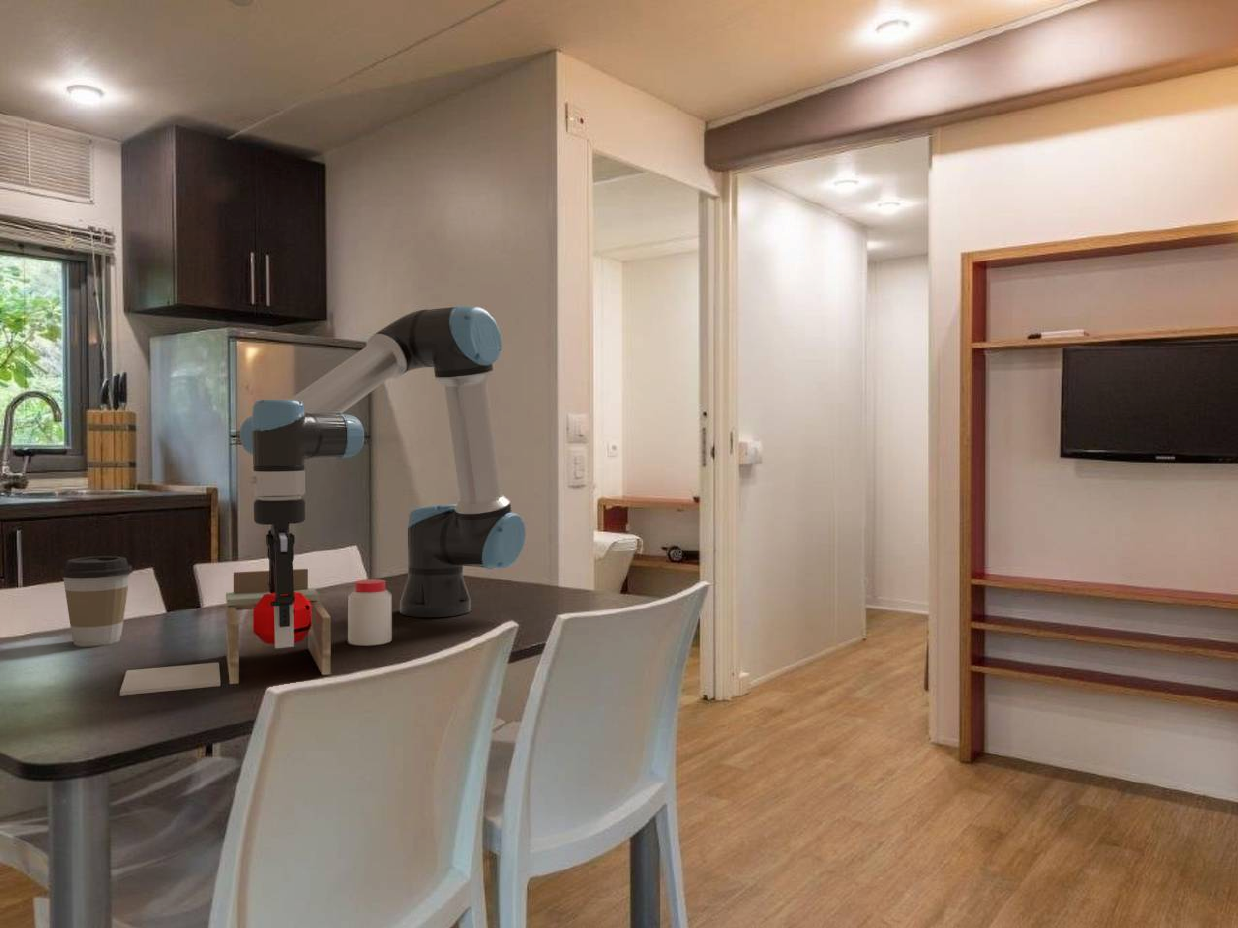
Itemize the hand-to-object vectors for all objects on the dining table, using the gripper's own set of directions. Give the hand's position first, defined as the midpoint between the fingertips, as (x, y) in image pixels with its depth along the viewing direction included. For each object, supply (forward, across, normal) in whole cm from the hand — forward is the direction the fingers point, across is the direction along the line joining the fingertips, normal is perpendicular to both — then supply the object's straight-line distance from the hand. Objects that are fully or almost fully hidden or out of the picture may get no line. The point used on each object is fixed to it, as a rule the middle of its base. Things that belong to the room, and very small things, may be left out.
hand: (281, 640), depth 139 cm
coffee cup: (+5, -35, -28) cm, 46 cm away
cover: (-4, -14, 0) cm, 14 cm away
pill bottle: (+6, -17, +16) cm, 24 cm away
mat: (+5, -1, -16) cm, 16 cm away
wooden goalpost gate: (+5, -5, 0) cm, 7 cm away
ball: (0, 0, 0) cm, 0 cm away
